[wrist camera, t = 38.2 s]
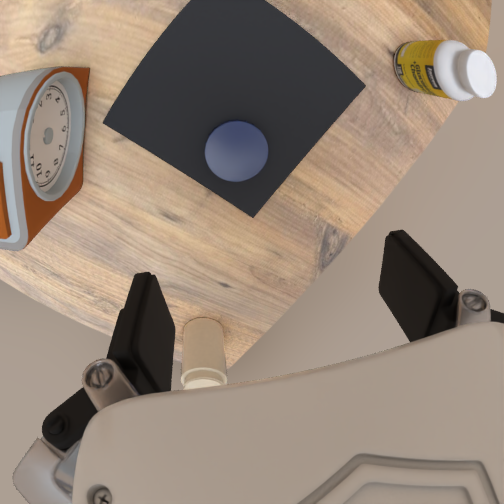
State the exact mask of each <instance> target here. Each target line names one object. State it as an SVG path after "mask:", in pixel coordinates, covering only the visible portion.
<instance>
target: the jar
mask: <svg viewBox="0 0 504 504" xmlns="http://www.w3.org/2000/svg"><path fill="white" fill-rule="evenodd" d="M181 382H182V384H183V385H184V390H186V389H195V388H203V387H211V386H219V385H226V383H227V370H226V356H225V342H224V330H223V327H222V326H221V324H220V323H218V322H217V321H215V320H213V319H210V318H196V319H193V320H191V321H189V322H188V323H187V324H186V325H185V327H184V331H183V346H182V363H181Z"/></svg>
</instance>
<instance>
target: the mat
mask: <svg viewBox="0 0 504 504" xmlns="http://www.w3.org/2000/svg"><path fill="white" fill-rule="evenodd" d="M365 86H366V85H365V84H364V83H363V82H362V81H361V80H360V79H359V78H358V77H357V76H356V75H355V74H354V73H353V72H352V71H351V70H350V69H349V68H348V67H347V66H345V65H344V64H343V63H342V62H341V61H340V60H339V59H338V58H337V57H336V56H335V55H334V54H332V53H331V52H330V51H329V50H328V49H327V48H326V47H325V46H323V45H322V44H321V43H320V42H319V41H318V40H316V39H315V38H314V37H313V36H312V35H310V34H309V33H308V32H307V31H306V30H304V29H303V28H302V27H300V26H299V25H298V24H297V23H295V22H294V21H293V20H291V19H290V18H289V17H287V16H286V15H285V14H283V13H282V12H281V11H279V10H278V9H276V8H275V7H274V6H272V5H271V4H269V3H268V2H266V1H265V0H191V1H190V2H189V3H188V4H187V5H186V6H185V7H184V8H183V9H182V11H181V12H180V13H179V14H178V15H177V16H176V18H175V19H174V20H173V21H172V22H171V23H170V25H169V26H168V27H167V28H166V30H165V31H164V32H163V33H162V35H161V36H160V37H159V38H158V40H157V41H156V42H155V43H154V45H153V46H152V47H151V49H150V50H149V51H148V53H147V54H146V56H145V57H144V58H143V60H142V61H141V63H140V64H139V65H138V67H137V68H136V70H135V71H134V73H133V74H132V76H131V77H130V79H129V80H128V82H127V83H126V85H125V86H124V88H123V89H122V91H121V93H120V94H119V96H118V97H117V99H116V101H115V102H114V104H113V106H112V107H111V109H110V111H109V112H108V114H107V116H106V118H105V119H104V121H103V124H105V125H107V126H108V127H110V128H112V129H113V130H115V131H117V132H118V133H120V134H122V135H123V136H125V137H127V138H128V139H130V140H132V141H133V142H135V143H136V144H138V145H140V146H141V147H143V148H145V149H146V150H148V151H149V152H151V153H153V154H154V155H156V156H157V157H159V158H161V159H162V160H164V161H165V162H167V163H169V164H170V165H172V166H173V167H175V168H177V169H178V170H180V171H181V172H183V173H184V174H186V175H188V176H189V177H191V178H192V179H194V180H195V181H197V182H199V183H200V184H202V185H203V186H205V187H206V188H208V189H209V190H211V191H213V192H214V193H216V194H217V195H219V196H220V197H222V198H223V199H225V200H226V201H228V202H229V203H231V204H233V205H234V206H236V207H237V208H239V209H240V210H242V211H243V212H245V213H246V214H248V215H249V216H251V217H252V218H253V217H254V216H255V215H256V214H257V213H258V211H259V210H260V209H261V208H262V207H263V205H264V204H265V203H266V202H267V201H268V199H269V198H270V197H271V196H272V195H273V193H274V192H275V191H276V190H277V189H278V188H279V186H280V185H281V184H282V183H283V182H284V180H285V179H286V178H287V177H288V176H289V174H290V173H291V172H292V171H293V170H294V169H295V167H296V166H297V165H298V164H299V163H300V161H301V160H302V159H303V158H304V157H305V156H306V154H307V153H308V152H309V151H310V150H311V149H312V147H313V146H314V145H315V144H316V143H317V142H318V140H319V139H320V138H321V137H322V136H323V135H324V133H325V132H326V131H327V130H328V129H329V128H330V126H331V125H332V124H333V123H334V122H335V121H336V120H337V118H338V117H339V116H340V115H341V114H342V113H343V112H344V110H345V109H346V108H347V107H348V106H349V105H350V103H351V102H352V101H353V100H354V99H355V98H356V97H357V96H358V94H359V93H360V92H361V91H362V90H363V89H364V88H365ZM237 119H238V120H244V121H245V120H246V121H247V122H249V123H251V124H252V123H253V124H254V126H256V127H257V128H259V129H260V130H261V132H262V134H263V135H264V136H265V139H266V141H267V143H268V157H267V161H266V163H265V165H264V167H263V168H262V170H261V171H260V172H259V173H258V174H257V175H255V176H254V177H252V178H250V179H248V180H245V181H240V182H232V181H227V180H224V179H222V178H220V177H218V176H217V175H215V174H214V173H213V172H212V171H211V169H210V168H209V167H208V164H207V162H206V159H205V152H204V148H205V145H206V144H205V142H206V141H207V138H208V136H209V133H211V131H212V130H213V129H214V127H217V126H218V125H219V124H221V122H222V123H223V122H225V121H228V120H237Z"/></svg>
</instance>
